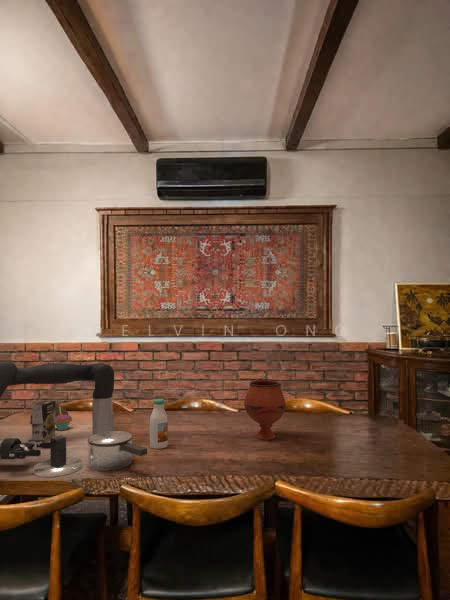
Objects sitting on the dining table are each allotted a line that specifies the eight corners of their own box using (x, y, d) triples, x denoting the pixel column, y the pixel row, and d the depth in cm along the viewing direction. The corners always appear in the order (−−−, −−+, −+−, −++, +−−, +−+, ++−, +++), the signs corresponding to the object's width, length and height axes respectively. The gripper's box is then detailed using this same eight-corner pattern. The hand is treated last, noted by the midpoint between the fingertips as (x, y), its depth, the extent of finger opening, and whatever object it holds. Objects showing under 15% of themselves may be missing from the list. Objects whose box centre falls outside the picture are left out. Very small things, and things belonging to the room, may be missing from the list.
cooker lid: (66, 457, 168) (66, 428, 168) (91, 467, 157) (91, 436, 158) (24, 470, 154) (24, 439, 155) (48, 481, 144) (48, 448, 144)
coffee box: (43, 440, 190) (44, 404, 191) (31, 439, 191) (31, 404, 192) (55, 434, 199) (56, 400, 200) (43, 434, 200) (44, 400, 201)
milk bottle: (150, 450, 176) (150, 402, 176) (149, 444, 183) (148, 398, 184) (169, 448, 178) (168, 400, 178) (166, 443, 185) (166, 397, 186)
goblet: (256, 429, 206) (255, 378, 207) (292, 434, 196) (292, 380, 197) (237, 439, 190) (236, 383, 190) (276, 446, 180) (275, 387, 180)
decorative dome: (27, 427, 214) (27, 407, 214) (32, 418, 233) (32, 399, 233) (68, 423, 220) (68, 404, 220) (69, 415, 239) (69, 397, 239)
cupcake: (49, 430, 206) (49, 406, 206) (60, 426, 214) (60, 402, 215) (65, 431, 204) (65, 407, 204) (75, 427, 212) (75, 403, 213)
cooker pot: (114, 453, 172) (114, 428, 173) (161, 468, 155) (161, 440, 155) (78, 464, 159) (79, 438, 160) (125, 482, 142) (125, 452, 143)
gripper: (-8, 444, 151) (36, 445, 150) (15, 433, 165) (55, 433, 164) (-8, 465, 151) (36, 466, 149) (15, 452, 165) (55, 452, 163)
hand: (46, 449), depth 156 cm, fingers open, 8 cm apart
